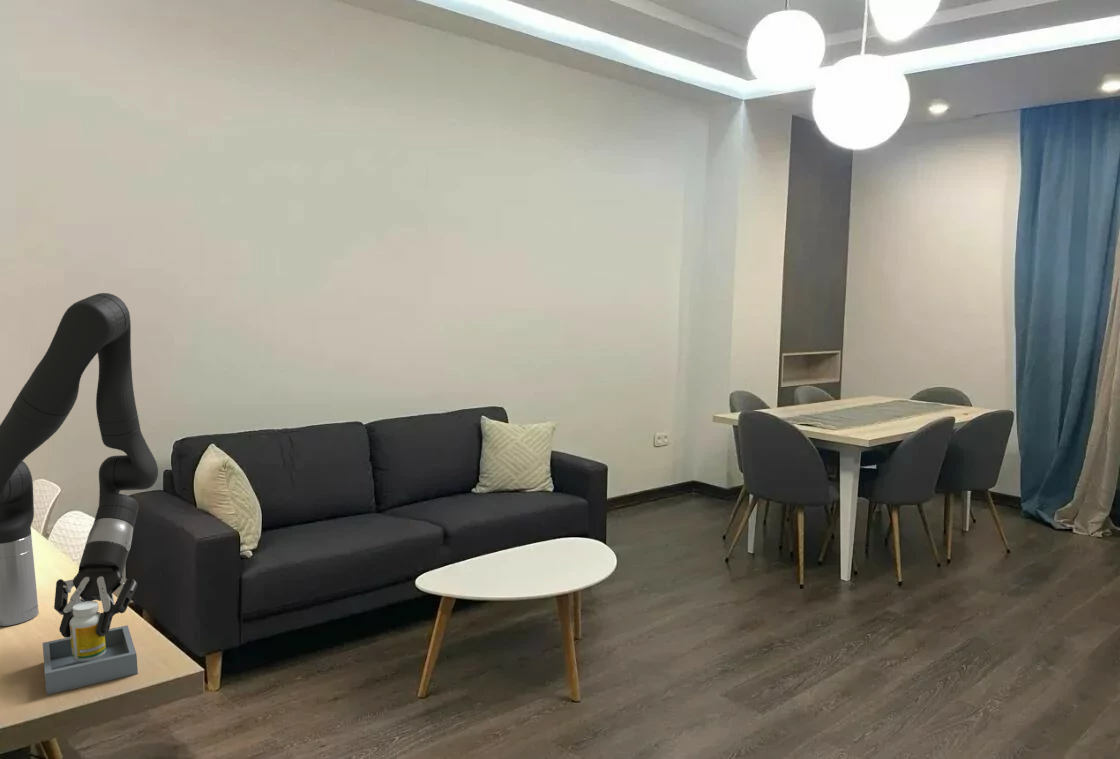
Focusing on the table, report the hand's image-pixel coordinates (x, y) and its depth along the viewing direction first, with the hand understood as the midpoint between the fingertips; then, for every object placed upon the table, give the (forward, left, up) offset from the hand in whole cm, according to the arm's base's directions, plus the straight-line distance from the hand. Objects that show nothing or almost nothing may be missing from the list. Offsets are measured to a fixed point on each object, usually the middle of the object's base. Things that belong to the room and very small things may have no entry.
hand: (82, 635), depth 153 cm
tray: (0, +2, -7) cm, 7 cm away
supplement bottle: (0, +2, -5) cm, 5 cm away
